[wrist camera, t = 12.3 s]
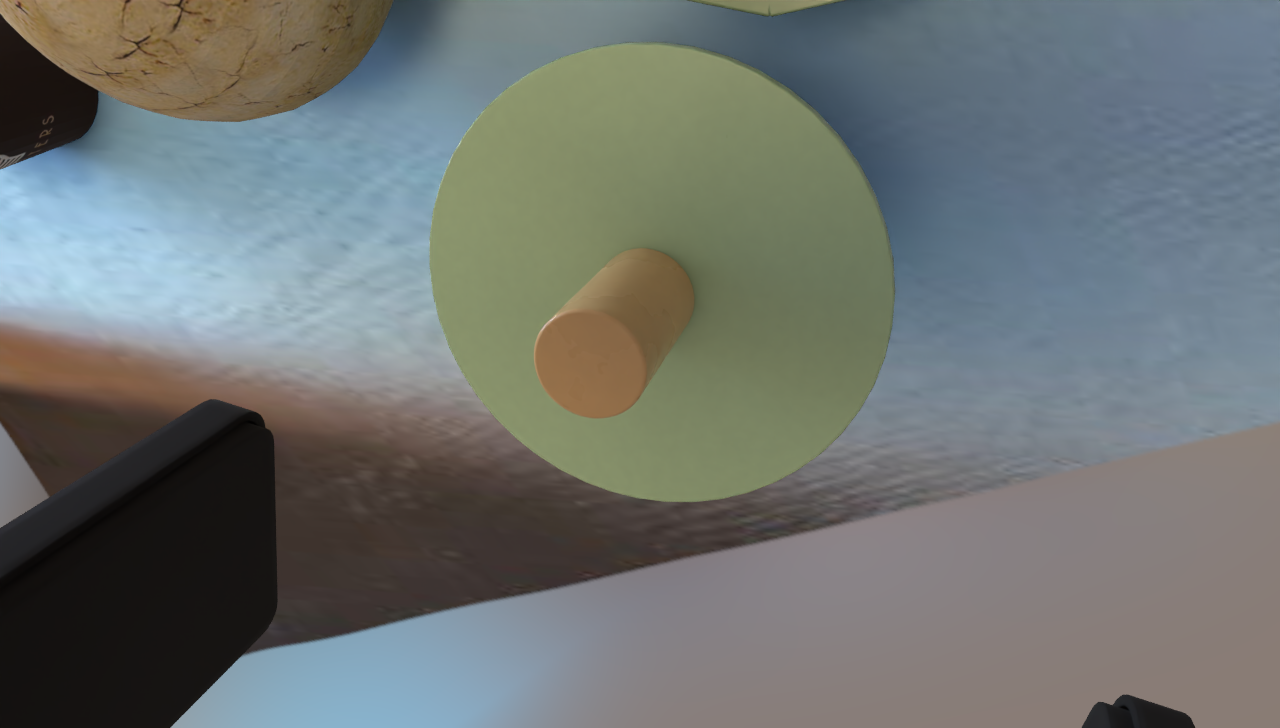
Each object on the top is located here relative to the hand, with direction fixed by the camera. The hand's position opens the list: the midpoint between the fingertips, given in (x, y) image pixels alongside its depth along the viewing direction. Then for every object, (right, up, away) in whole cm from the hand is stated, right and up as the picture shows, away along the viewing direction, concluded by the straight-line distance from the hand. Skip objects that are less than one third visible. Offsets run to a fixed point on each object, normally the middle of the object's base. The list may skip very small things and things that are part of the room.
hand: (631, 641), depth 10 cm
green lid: (0, +5, +16) cm, 17 cm away
